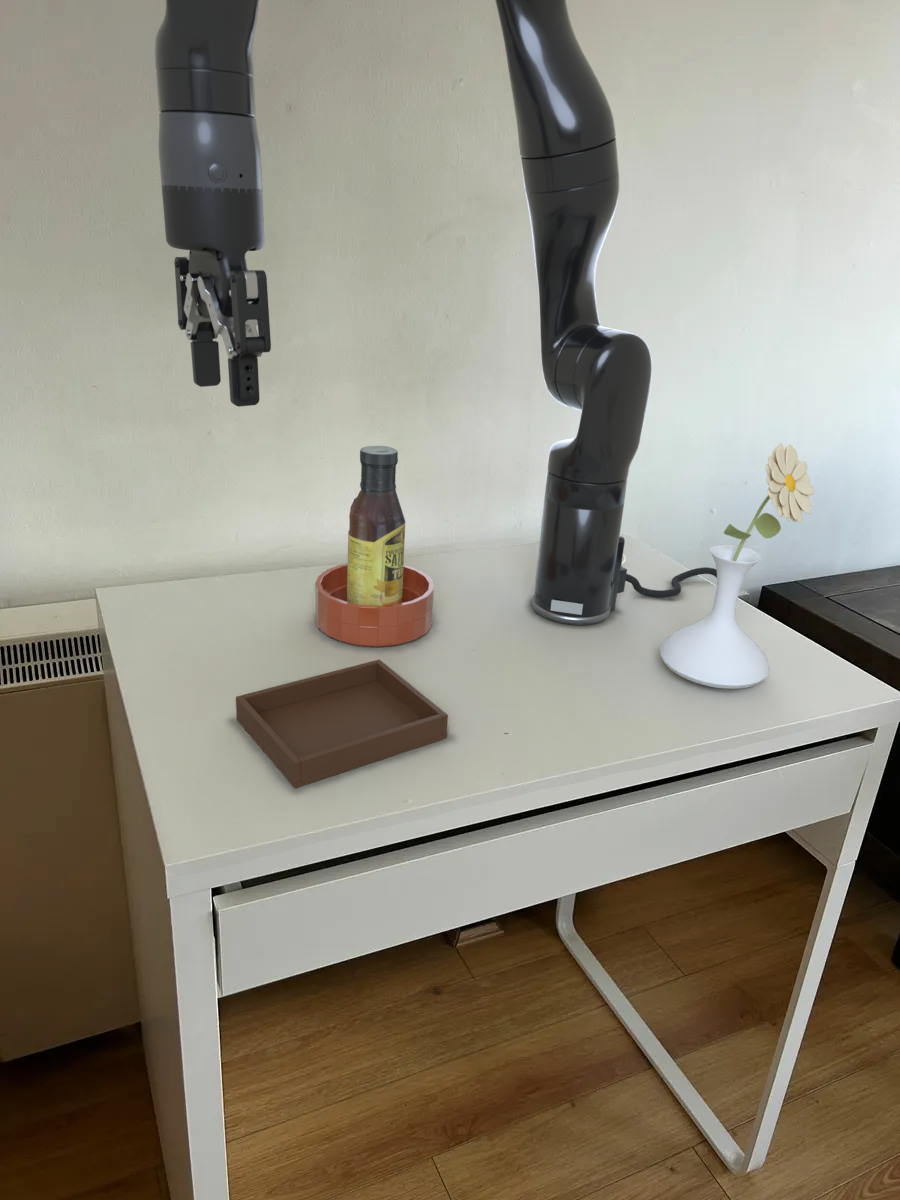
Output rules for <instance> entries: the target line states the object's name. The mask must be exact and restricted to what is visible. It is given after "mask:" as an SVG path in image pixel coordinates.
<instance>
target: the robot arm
mask: <svg viewBox="0 0 900 1200" xmlns="http://www.w3.org/2000/svg"><path fill="white" fill-rule="evenodd" d="M259 5H260V0H165V10H164V16H163V19H162V22H161V23H160V25H159V26H158V29H157V31H156V34H155V38H154V39H155V40H154V69H155V80H156V91H157V92H156V93H157V102H158V104H157V105H158V112H159V113H158V120H159V122H158V159H159V170H160V171H159V173H160V184H161V196H162V206H163V208H162V209H163V219H164V230H165V231H164V233H165V240H166V243H167V245H168V246H170V247H171V248H173V249H177V250H183V251H189V252H188V256H175V257H174V262H173V264H174V265H173V266H174V275H175V291H176V293H175V294H176V306H177V307H176V308H177V325H178V328H179V330H181V331H185V336H186V339H187V340H188V341H190V351H191V352H190V353H191V365H192V375H193V376H192V378H193V380H192V381H193V383H194V384H195V385H196V386H198V387H200V388H203V387H215V386H218V385H220V384H221V382H222V381H221V378H222V376H221V363H220V346H219V341H217V339H218V337H219V335H220V336H221V337H222V340H223V343H224V346H225V350H226V354H227V357H228V358H227V369H228V384H229V400H230V402H231V404H232V405H234V406H236V407H239V408H240V407H251V406H256V405H258V404H259V403H260V380H259V379H260V378H259V359H258V358H261V357H262V354H265V353H270V352H271V350H272V341H271V324H270V309H269V296H268V295H269V293H268V278H267V273H266V271H265V270H263V269H253V270H252V269H251V270H250V269H248V265H247V259H246V254H247V253H248V252H256V251H260V250H262V249H263V248H264V246H265V241H266V240H265V220H264V195H263V177H262V176H263V174H262V173H263V172H262V171H263V170H262V168H263V167H262V153H261V152H262V151H261V145H260V139H259V133H258V126H257V119H256V116H257V110H256V88H255V85H256V84H255V67H254V59H253V58H254V57H253V48H254V39H255V34H256V28H257V22H258V16H259V7H260V6H259ZM495 5H496V10H497V13H498V19H499V23H500V28H501V32H502V37H503V43H504V48H505V56H506V61H507V69H508V75H509V81H510V88H511V94H512V100H513V101H512V102H513V106H514V112H515V113H514V114H515V120H516V127H517V136H518V147H519V148H518V149H519V155H520V163H521V171H522V178H523V186H524V192H525V193H524V194H525V197H526V203H527V209H528V216H529V223H530V229H531V236H532V248H533V254H534V263H535V271H536V272H535V273H536V281H537V292H538V304H539V305H538V310H539V312H538V313H539V337H540V338H539V339H540V341H539V342H540V361H541V370H542V377H543V381H544V384H545V387H546V389H547V391H548V393H549V394H550V396H551V397H552V399H554V400H555V401H556V402H557V403H558V404H560V405H563V406H565V407H567V408H570V409H574V410H577V411H580V412H581V413H580V419H579V422H578V423H579V424H578V428H577V431H576V435H575V436H574V437H572V438H568V439H563V440H558V441H556V442H555V443H553V444H552V445H551V447H550V448H549V451H548V457H547V467H546V474H545V475H546V476H545V485H544V495H543V506H542V515H541V526H540V535H539V543H538V544H539V545H538V554H537V562H536V563H537V564H536V572H535V581H534V582H535V583H534V591H533V592H534V594H533V596H532V602H531V603H532V606H531V607H532V609H533V610H534V612H536V613H537V614H538V615H539V616H541V617H543V618H545V619H547V620H550V621H553V622H556V623H560V624H566V625H575V626H583V625H586V626H587V625H593V624H597V623H601V622H603V621H605V620H606V619H608V618H609V616H610V613H612V612H615V611H616V605H617V598H618V594H621V593H624V592H625V587H626V582H628V583H630V584H631V585H632V587H633V589H634V591H635V592H636V593H638V594H640V595H643V596H647V597H651V598H669V597H674V596H675V597H676V596H678V595H679V594H680V593H681V591H682V586H681V584H680V582H682V581H684V580H687V579H689V578H692V577H695V576H699V575H711V576H713V577H715V578H716V579H717V568H713V567H706V566H705V567H696V568H693V569H688V570H687V571H683V572H682V573H679V574H676V575H675V576H673V577H672V579H671V582H670V584H671V586H672V588H671V589H664V590H661V589H660V590H659V589H650V588H646V587H643V586H642V585H641V583H640V580H639V579H638V578H637V577H635V576H633V575H631V574H629V573H628V569H627V568H625V567H623V566H622V563H623V555H624V548H625V544H626V543H625V542H626V541H625V537H624V536H623V535H621V529H622V523H623V515H624V508H625V500H626V493H627V486H628V478H629V474H630V467H631V464H632V462H633V460H634V458H635V457H636V454H637V452H638V449H639V447H640V445H641V444H640V443H641V438H642V434H643V428H644V423H645V418H646V413H647V408H648V405H649V399H650V392H651V388H652V378H653V359H652V354H651V351H650V348H649V345H648V344H647V342H646V341H645V340H644V339H643V338H642V337H640V336H639V335H637V334H635V333H632V332H629V331H625V330H620V329H617V328H616V329H615V328H611V327H606V326H602V324H601V321H600V318H599V312H598V304H597V294H596V274H597V273H596V272H597V265H598V260H599V257H600V254H601V252H602V251H601V250H602V247H603V246H604V243H605V241H606V238H607V235H608V232H609V230H610V227H611V225H612V222H613V219H614V216H615V213H616V209H617V207H618V200H619V195H620V171H619V160H618V146H617V137H616V136H617V134H616V126H615V121H614V116H613V112H612V108H611V106H610V104H609V101H608V98H607V96H606V94H605V91H604V90H603V88H602V85H601V83H600V81H599V79H598V77H597V75H596V73H595V71H594V70H593V68H592V66H591V64H590V62H589V61H588V59H587V56H586V55H585V53H584V52H583V49H582V48H581V45H580V43H579V41H578V39H577V36H576V34H575V31H574V29H573V25H572V22H571V19H570V16H569V11H568V5H567V0H495Z"/></svg>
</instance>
